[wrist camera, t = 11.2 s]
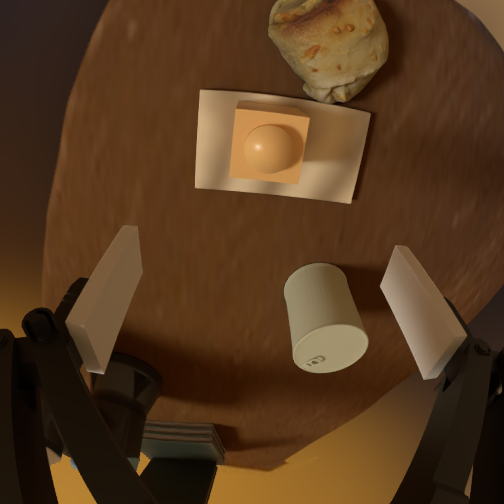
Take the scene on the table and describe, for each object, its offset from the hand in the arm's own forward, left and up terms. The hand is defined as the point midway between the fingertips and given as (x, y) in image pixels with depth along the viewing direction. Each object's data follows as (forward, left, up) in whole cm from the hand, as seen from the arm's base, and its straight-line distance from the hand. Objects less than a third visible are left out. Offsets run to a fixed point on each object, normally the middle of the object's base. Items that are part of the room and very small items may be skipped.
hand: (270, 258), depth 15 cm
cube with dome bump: (0, +2, -20) cm, 20 cm away
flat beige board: (+2, +1, -21) cm, 21 cm away
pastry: (+6, +14, -21) cm, 26 cm away
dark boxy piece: (-13, -76, -22) cm, 80 cm away
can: (+10, -19, -21) cm, 30 cm away
